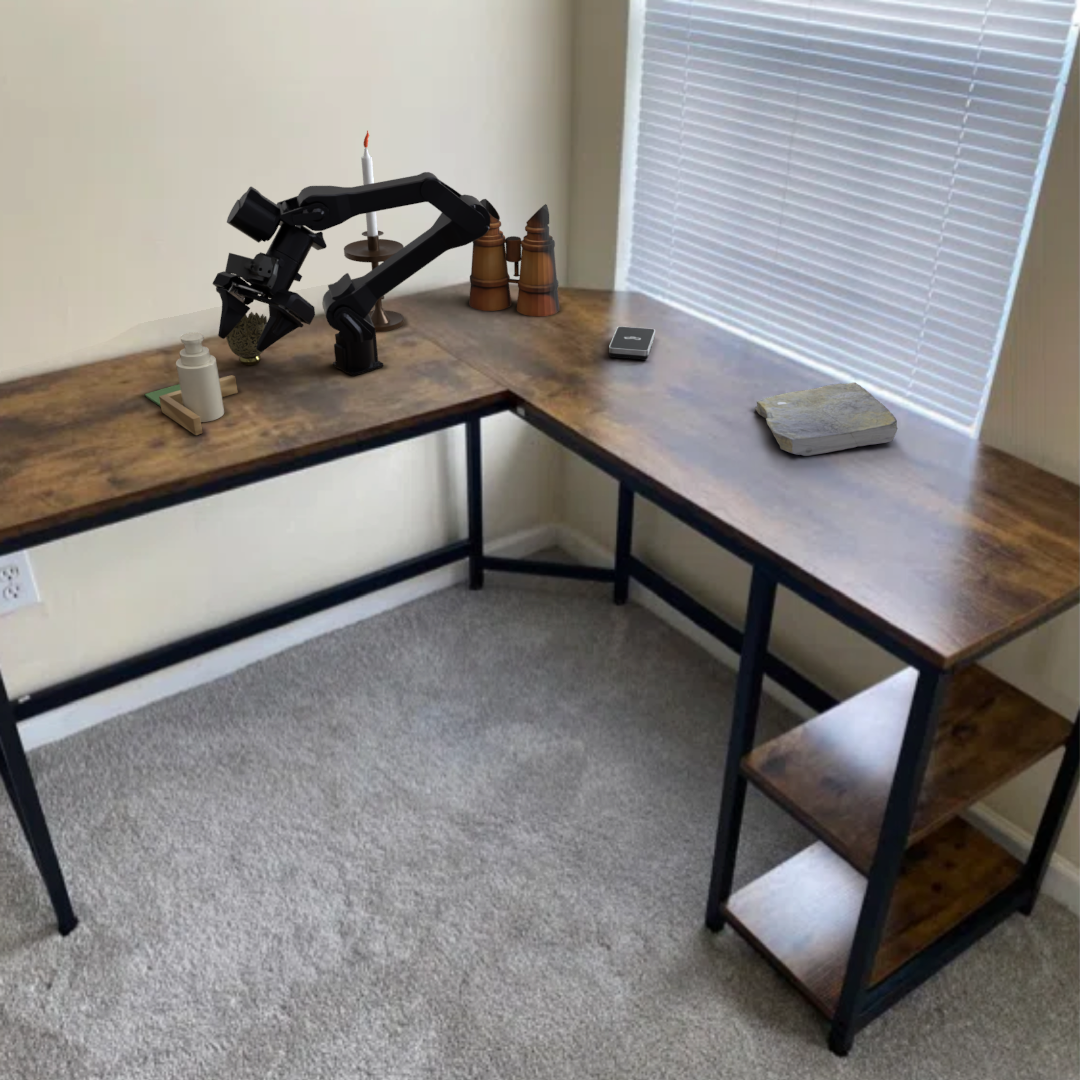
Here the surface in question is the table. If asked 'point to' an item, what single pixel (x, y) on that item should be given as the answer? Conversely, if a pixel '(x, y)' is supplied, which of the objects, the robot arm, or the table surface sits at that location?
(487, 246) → the binoculars
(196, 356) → the lidded jar
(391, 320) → the candlestick
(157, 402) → the green cloth
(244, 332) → the cup
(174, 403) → the corner rails
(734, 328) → the table surface
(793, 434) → the grey stone slab
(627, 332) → the external hard drive
